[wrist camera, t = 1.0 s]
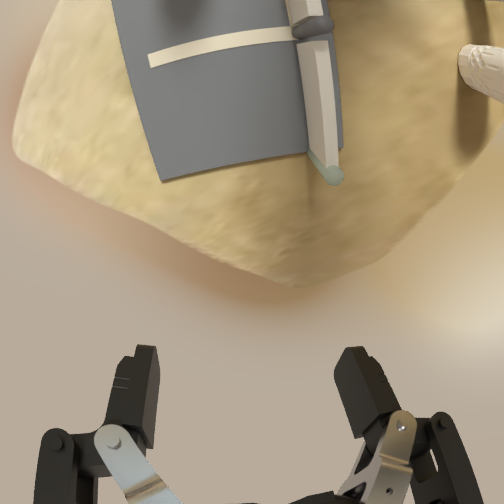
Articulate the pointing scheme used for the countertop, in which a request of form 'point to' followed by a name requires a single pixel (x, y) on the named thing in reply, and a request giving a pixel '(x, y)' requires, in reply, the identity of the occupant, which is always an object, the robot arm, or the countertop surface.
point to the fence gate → (320, 109)
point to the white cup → (483, 69)
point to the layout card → (217, 80)
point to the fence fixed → (309, 19)
